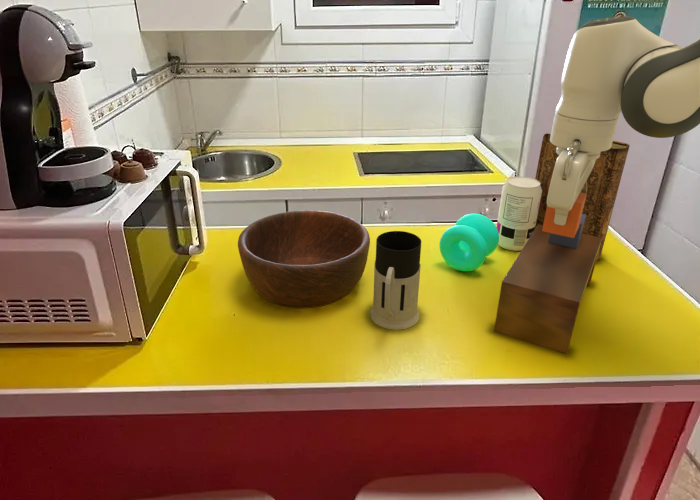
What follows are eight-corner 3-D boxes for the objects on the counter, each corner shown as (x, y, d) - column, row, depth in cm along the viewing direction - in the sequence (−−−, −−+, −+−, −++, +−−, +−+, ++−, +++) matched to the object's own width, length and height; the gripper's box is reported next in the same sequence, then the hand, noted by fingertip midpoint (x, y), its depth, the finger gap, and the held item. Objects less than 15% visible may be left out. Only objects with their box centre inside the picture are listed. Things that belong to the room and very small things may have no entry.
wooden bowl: (253, 329, 89) (248, 277, 84) (234, 262, 110) (229, 218, 105) (388, 303, 96) (390, 255, 92) (345, 245, 117) (345, 203, 113)
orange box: (579, 227, 87) (586, 193, 84) (573, 238, 83) (582, 203, 81) (548, 220, 89) (555, 187, 87) (541, 231, 86) (548, 197, 83)
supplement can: (487, 239, 121) (496, 178, 114) (516, 233, 124) (526, 173, 117) (509, 254, 114) (519, 190, 107) (539, 248, 117) (551, 185, 110)
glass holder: (422, 305, 96) (428, 232, 89) (411, 352, 84) (417, 272, 77) (375, 298, 98) (378, 226, 91) (358, 344, 86) (359, 265, 79)
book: (604, 256, 113) (633, 144, 102) (591, 264, 110) (621, 150, 99) (537, 231, 124) (556, 128, 113) (524, 238, 121) (543, 132, 110)
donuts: (435, 265, 109) (439, 222, 105) (454, 247, 117) (459, 206, 112) (480, 279, 104) (486, 235, 100) (497, 259, 112) (504, 217, 107)
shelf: (590, 282, 104) (602, 237, 99) (566, 354, 84) (579, 302, 79) (529, 267, 109) (537, 224, 104) (493, 331, 89) (501, 281, 85)
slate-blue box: (580, 238, 99) (586, 214, 96) (576, 248, 95) (582, 224, 93) (553, 232, 101) (558, 208, 99) (548, 242, 97) (553, 218, 95)
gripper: (594, 153, 70) (572, 245, 76) (612, 122, 85) (593, 200, 92) (546, 146, 72) (529, 235, 79) (571, 117, 88) (555, 193, 94)
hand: (563, 216), depth 85 cm, fingers closed on orange box, 5 cm apart
